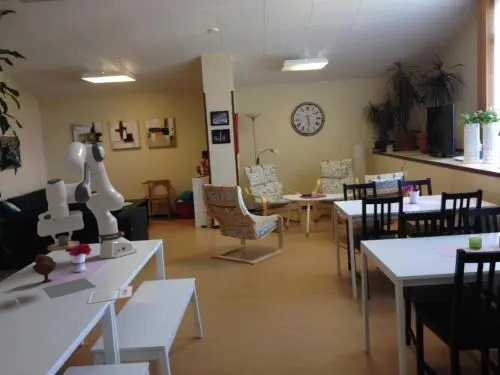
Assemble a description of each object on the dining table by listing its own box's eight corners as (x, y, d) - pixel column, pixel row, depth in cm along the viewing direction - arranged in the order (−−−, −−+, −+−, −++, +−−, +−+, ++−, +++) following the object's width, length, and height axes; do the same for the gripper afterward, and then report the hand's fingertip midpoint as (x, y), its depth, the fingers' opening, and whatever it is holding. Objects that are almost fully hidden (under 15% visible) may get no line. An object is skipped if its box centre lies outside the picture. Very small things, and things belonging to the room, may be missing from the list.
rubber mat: (84, 278, 224) (84, 277, 224) (96, 287, 208) (96, 286, 208) (42, 289, 213) (42, 288, 212) (51, 299, 196) (51, 298, 196)
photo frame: (131, 295, 191) (87, 302, 187) (131, 298, 191) (88, 304, 187) (132, 285, 205) (92, 291, 201) (132, 287, 205) (92, 293, 201)
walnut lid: (74, 241, 218) (73, 231, 217) (83, 245, 206) (81, 235, 206) (44, 247, 209) (43, 237, 209) (51, 252, 198) (50, 241, 198)
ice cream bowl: (49, 285, 217) (45, 256, 215) (30, 286, 219) (26, 257, 217) (63, 278, 227) (59, 250, 225) (44, 279, 229) (40, 251, 227)
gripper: (79, 209, 214) (83, 236, 216) (34, 216, 203) (38, 245, 204) (83, 210, 209) (87, 238, 211) (37, 217, 198) (41, 247, 199)
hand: (63, 241), depth 208 cm, fingers closed on walnut lid, 4 cm apart
